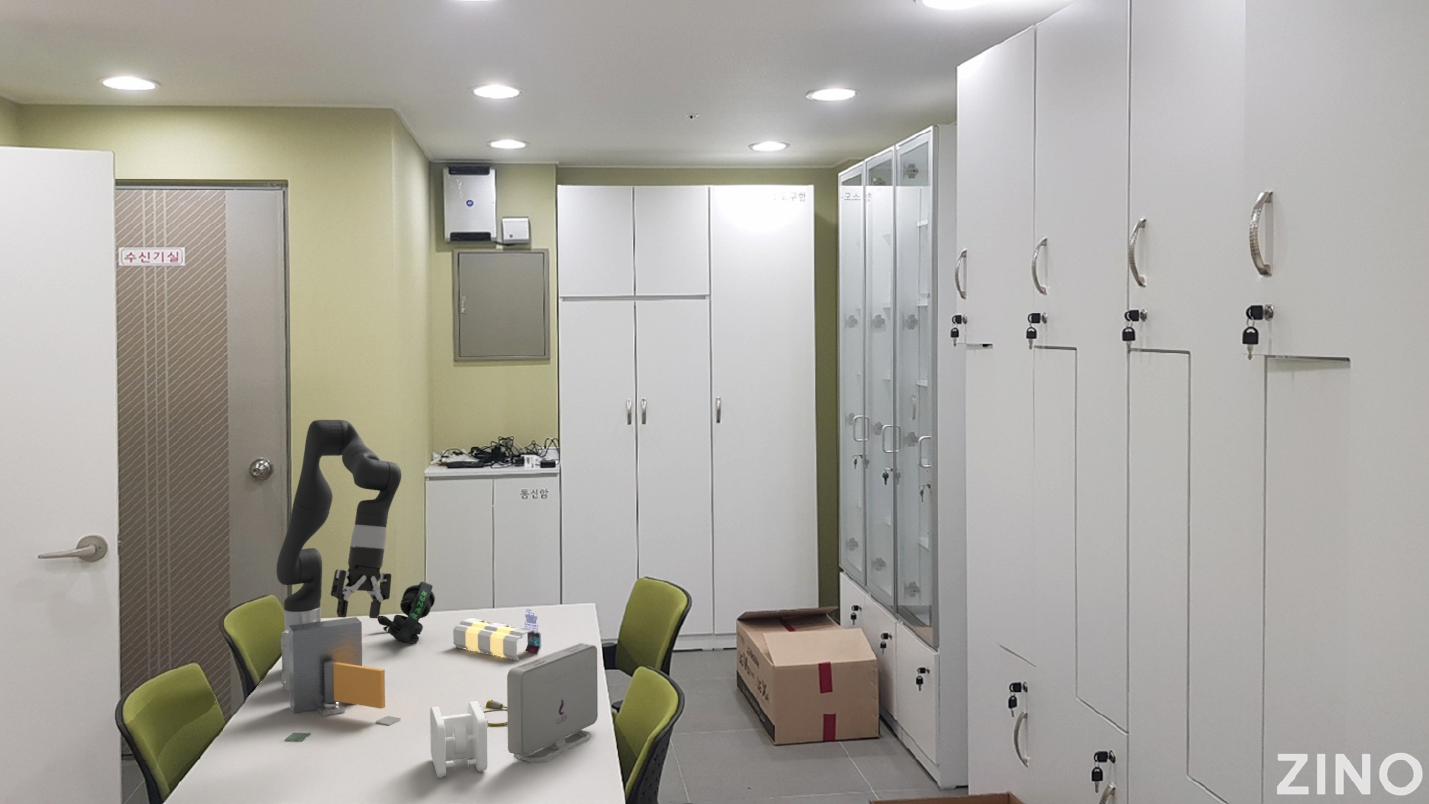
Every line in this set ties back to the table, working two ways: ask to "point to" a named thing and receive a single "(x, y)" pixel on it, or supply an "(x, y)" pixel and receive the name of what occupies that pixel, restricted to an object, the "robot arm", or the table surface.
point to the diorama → (496, 637)
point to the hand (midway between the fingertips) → (357, 617)
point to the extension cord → (495, 705)
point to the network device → (552, 701)
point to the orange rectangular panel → (354, 684)
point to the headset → (410, 613)
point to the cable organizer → (458, 738)
